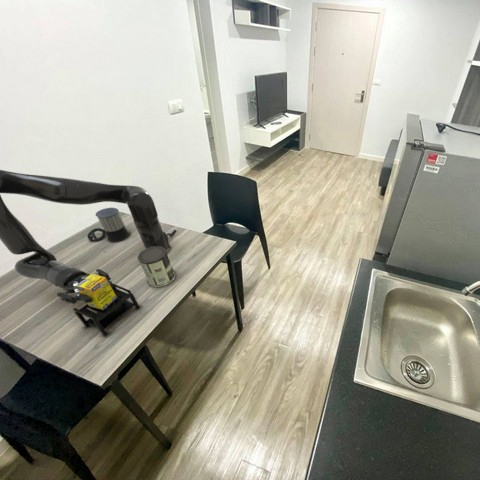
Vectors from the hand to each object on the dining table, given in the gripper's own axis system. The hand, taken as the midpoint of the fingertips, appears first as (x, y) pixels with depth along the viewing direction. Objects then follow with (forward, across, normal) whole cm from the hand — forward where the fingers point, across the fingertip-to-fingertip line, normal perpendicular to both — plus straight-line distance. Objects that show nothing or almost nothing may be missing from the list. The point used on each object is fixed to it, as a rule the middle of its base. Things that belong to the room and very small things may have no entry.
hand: (101, 292), depth 88 cm
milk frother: (-48, +33, +15) cm, 60 cm away
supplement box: (-2, 0, +6) cm, 7 cm away
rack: (-2, 0, +14) cm, 15 cm away
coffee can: (-2, +22, +14) cm, 27 cm away
